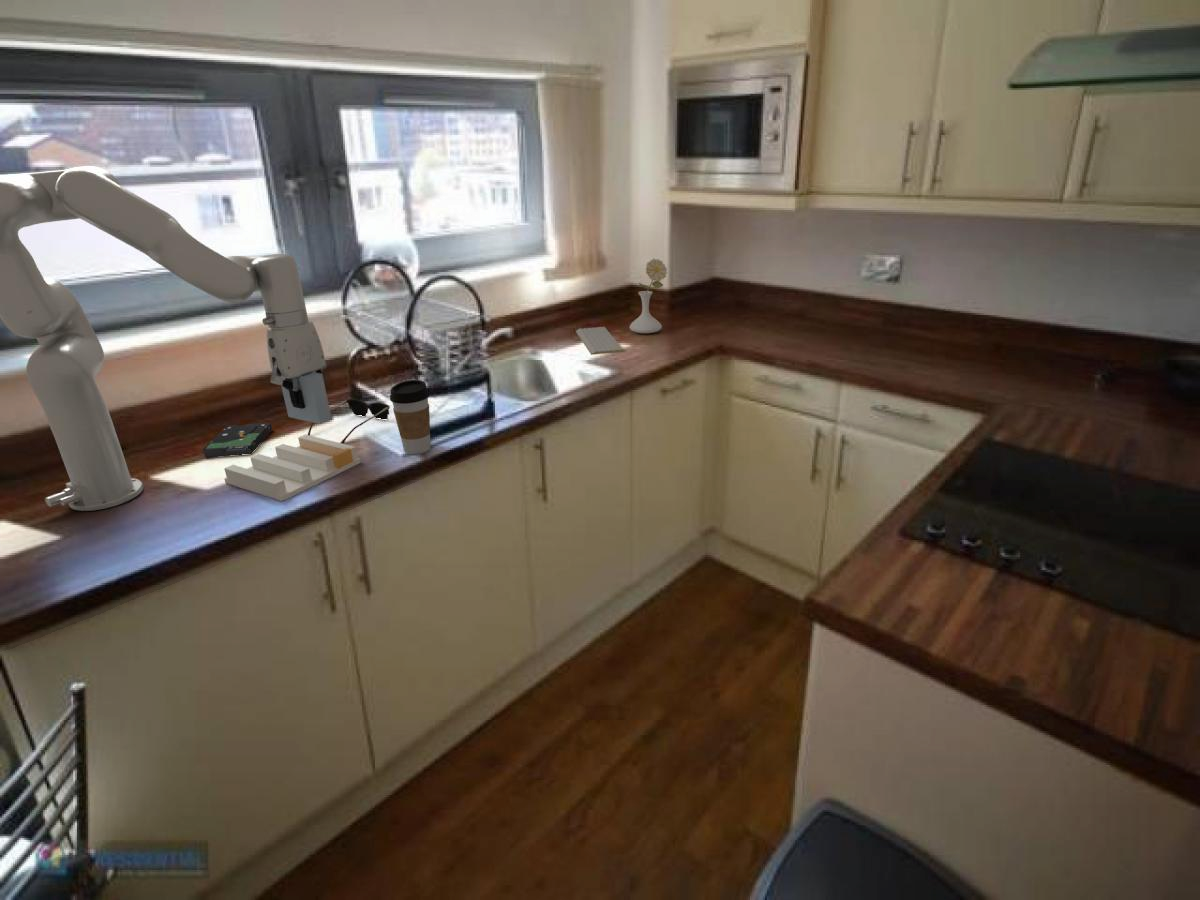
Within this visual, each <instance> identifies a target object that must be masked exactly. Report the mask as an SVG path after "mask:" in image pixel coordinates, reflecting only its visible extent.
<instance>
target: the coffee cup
mask: <svg viewBox="0 0 1200 900" xmlns="http://www.w3.org/2000/svg"><path fill="white" fill-rule="evenodd" d="M429 392H430V391H429V390H428V388H427V384H426V382H425V381H423V380H420V379H411V380H404V381H401V382H398V383H397V384H395V385H393V386H392V387H391V388H390V395H389V401H390V402H392V406H393V408H392V409H393V414H394V417H395V421H396V424H397V428H398V429H397V430H398V433H399V437H400V440H401V443H402V448H403V452H404V453H406V454H409V455H419V454H424V453H426V452H428V451H430V450H431V448H432V447H431V446H432V445H431V421H430V420H431V419H430V403H429V399H428V398H429V397H430V393H429Z"/></svg>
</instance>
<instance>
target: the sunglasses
mask: <svg viewBox="0 0 1200 900" xmlns="http://www.w3.org/2000/svg"><path fill="white" fill-rule="evenodd" d="M346 403H347V405H348V406H349V410H351V411H352V413H353V415H354V414H356V415H362V416H365V417H366V416H367V414H368V412H370V413H371V415H372V416H371V417H369V418H368V419H366V420H364V421H362V422H360V423H359V424H357V425H355V426H354V427H352V429H351V430H350V431H349V432H348V433H347V435H345V437H344V438H343V439H342V440H341V442H340V443H342V444H345V442H346V440H347V439H348V437H350V435H351V434H352V433H353V432H354V431H355V430H356V429H357V428H360V427H361V426H362V425H364V424H365V423H367V422H368V421H370V420H371V419H374V418H375V419H376V418H381V419H387V420H388V418H389V416H388V415H390V405H388V404H386V403H384V402H373V403H370V404H367V403H366V402H365V401H362V400H360V399H357V398H347V399H346V400H344V401H342V402H341V403H339V404H338V405H336V406H335V407H333V408H331V409H330V412H332V411H334V410H336V409H337V408H338V407H340V406H343V405H345V404H346ZM362 416H361V417H362ZM310 423H311V424H310V426H309V430H308V431H307V435H310V436H311V431H312V429H313V426H314V423H313V422H310Z"/></svg>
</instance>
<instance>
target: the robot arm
mask: <svg viewBox="0 0 1200 900" xmlns="http://www.w3.org/2000/svg"><path fill="white" fill-rule="evenodd" d="M76 219H80V220H82V221H84V222H86V223H88V224H89V225H91V226H93V227H95V228H97V229H99V230H100V231H102V232H105V233H106V234H108V235H110V236H112V237H114V238H115V239H117V240H119V241H121V242H123V243H125V244H126V245H128V246H130V247H132V248H134V249H135V250H137V251H139V252H141V253H143V254H144V255H146V256H147V257H149V258H150V259H151V260H152V261H153V262H155V263H156V264H158V265H160V266H161V267H163V268H164V269H166V270H167V271H169V272H171V273H172V274H173V275H174V276H176V277H178V278H180V279H181V280H182V281H184V282H186V283H187V284H190V285H191V286H193V287H195V288H196V289H199V290H201V291H203V292H205V293H206V294H208V295H210V296H212V297H214V298H216V299H217V300H220V301H223V302H225V303H228V304H238V303H239V304H240V303H243V302H245V301H247V300H248V299H250V297H252V296H253V293H255V292H260V295H261V299H262V304H263V308H264V311H265V317H264V318H262V320H261V321H262V324H263V325H264V326H268V328H266V345H267V353H268V358H269V364H270V368H271V371H272V372H271V377H270V381H269V382H270V383H271V384H274V385H278V386H283V387H284V388H285V389H287V390H289V394H290V398H291V402H292V404H293V407H296V408H300V409H303V408H305V404H304V399H303V395H302V391H301V390H299V386H298V379H297V377H299V376H302V375H305V374H308V373H311V372H314V373H320V374H322V372H323V371H324V370H326V368H327V367H328V364H327V362H326V358H325V353H324V349H323V346H322V343H321V339H320V336H319V334H318V331H317V329H316V326H315V325H314V322H313V321H312V320H309V317H308V313H307V312H308V311H307V307H306V301H305V297H304V294H303V292H304V291H303V288H302V287H303V286H302V283H301V277H300V274H299V269H298V263H297V260H296V258H295V257H294V256H293V255H291V254H287V253H274V254H267V255H262V256H246V255H244V256H243V255H230V256H227V257H226V256H224V255H222V254H221V253H219V252H217V251H215V250H213V249H212V248H210V247H208V246H207V245H205V244H204V243H202V242H200V241H199V240H198V239H196V238H195V237H193V236H192V235H191V234H190V233H189V232H187V231H186V230H185V228H184V227H183V226H182V225H181V224H180V223H179V221H178V220H177V219H176V218H175V217H174V216H172V215H171V214H170V213H168V212H167V211H165V210H163V209H161V208H159V207H158V206H156V205H155V204H153V203H151V202H149V201H148V200H146V199H144V198H142V197H140V196H139V195H137V194H135V193H134V192H132V191H130V190H129V189H127V188H125V187H124V186H122V184H121V183H120V181H119V180H118V178H116V177H115V176H114V175H113V173H110V172H109V171H107V170H105V169H103V168H100V167H97V166H89V165H88V166H77V167H72V168H69V169H62V170H61V169H60V170H52V171H51V170H50V171H42V172H38V171H37V172H28V173H27V172H26V173H18V174H17V173H16V174H4V175H3V174H1V175H0V319H1V321H2V323H3V324H4V325H5V326H6V328H7V329H8V330H10V331H11V332H12V333H13V334H14V335H17V336H19V337H22V338H26V339H36V340H37V342H38V344H39V346H38V348H37V349H35V350H34V351H33V352H32V354H31V355H30V357H29V358H28V361H27V364H26V367H25V368H26V369H25V371H26V378H27V381H28V383H29V386H30V388H31V390H32V392H33V393H34V395H35V397H36V398H37V400H38V402H39V404H40V406H41V408H42V410H43V412H44V415H45V418H46V420H47V422H48V424H49V427H50V430H51V432H52V435H53V437H54V439H55V443H56V445H57V447H58V451H59V453H60V455H61V458H62V462H63V464H64V467H65V469H66V470H65V471H66V472H67V475H68V477H69V480H70V481H69V482H66V483H65V485H66V486H65V488H64V489H62V491H61V492H59V493H54V494H51V495H49V496H46V497H45V498H44V500H45V503H46V504H47V506H48V507H50V508H51V507H53V506H56V505H58V504H61V506H65V505H68V506H69V508H71V509H72V510H75V511H80V512H84V511H85V512H88V511H89V512H90V511H98V510H104V509H108V508H112V507H116V506H118V505H121V504H124V503H127V502H129V501H130V500H132V499H135V498H136V497H138V496H139V495H140V494H142V492H143V490H144V485H143V482H142V481H141V480H139V479H137V478H132V477H131V474H130V471H129V469H128V465H127V462H126V460H125V456H124V452H123V451H122V447H121V444H120V441H119V438H118V435H117V433H116V429H115V426H114V423H113V420H112V418H111V414H110V412H109V409H108V407H107V404H106V401H105V398H104V397H103V395H102V393H101V391H100V389H99V387H98V386H97V385H98V384H97V383H96V380H95V377H96V376H97V375H98V374H99V372H100V371H101V370H102V368H103V365H104V362H105V352H104V349H103V346H102V344H101V341H100V340H99V338H98V336H97V334H96V333H95V331H94V329H93V327H92V325H91V323H90V320H89V319H88V318H87V315H86V313H85V312H84V310H83V308H82V306H81V303H80V302H79V300H78V299H77V297H76V295H74V293H73V291H71V290H70V289H69V287H67V286H66V285H64V284H63V283H61V281H58V280H57V279H56V280H55V279H53V278H49V277H45V276H43V274H42V273H41V271H40V269H39V267H38V265H37V263H36V261H35V260H34V258H33V256H32V254H31V252H30V251H29V250H28V249H27V247H26V246H25V245H24V244H23V242H22V240H21V239H20V237H19V230H21V229H23V228H27V227H31V226H34V225H40V224H45V223H53V222H61V221H69V220H70V221H71V220H76ZM282 375H283V376H284V380H283V379H281V376H282Z"/></svg>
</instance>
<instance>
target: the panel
mask: <svg viewBox="0 0 1200 900" xmlns="http://www.w3.org/2000/svg"><path fill="white" fill-rule="evenodd" d="M323 376H324V375H323V373H321V374H320V373H314V372H311V373H308V374H305V375H302V376H299V377H297V379H298V386H299V390H301V391H302V395H303V399H304V404H305V408H303V409H300V408H296V407H293V404H292V402H291V398H290V394H289V390H287V389H285V388H284V387H283V386H281V385H280V386H281V392H282V395H283V400H284V403H285V407H286V408H285V409H286V412H287V416H288V418H292V419H297V420H300V421H304V422H309V423H312V422H313V424H318V425H321V424H324V423H326V422H328V421H331V420H332V415H331V411H330V410H331V409H330V405H329V400H328V394H327V390H326V386H325V385H326V384H325V381H324V377H323ZM281 379H283V380H284V376H283V375H282V376H281Z"/></svg>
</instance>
